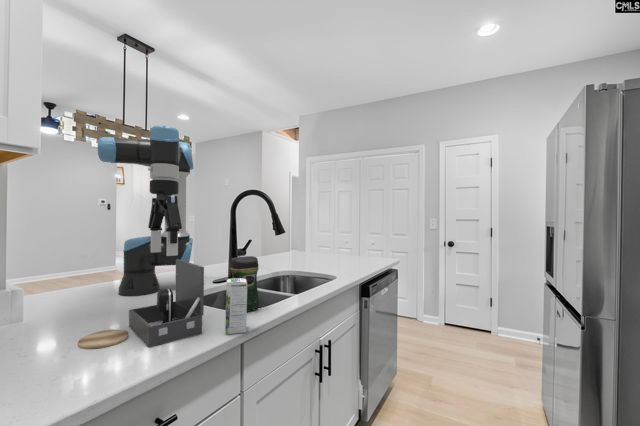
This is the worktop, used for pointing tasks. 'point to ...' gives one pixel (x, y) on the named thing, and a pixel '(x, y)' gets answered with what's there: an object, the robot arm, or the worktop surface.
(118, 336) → the disc
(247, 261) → the coffee jar
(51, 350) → the worktop surface
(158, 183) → the robot arm
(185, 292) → the case
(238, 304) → the syrup box
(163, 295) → the battery charger
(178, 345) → the worktop surface
